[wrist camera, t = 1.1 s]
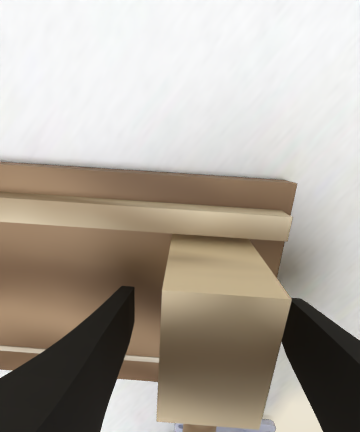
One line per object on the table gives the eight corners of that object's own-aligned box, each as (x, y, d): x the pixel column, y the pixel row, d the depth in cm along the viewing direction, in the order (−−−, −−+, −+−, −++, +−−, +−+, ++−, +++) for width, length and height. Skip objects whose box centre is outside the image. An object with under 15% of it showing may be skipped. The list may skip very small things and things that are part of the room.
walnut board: (246, 367, 16) (257, 409, 13) (-43, 345, 16) (-86, 382, 14) (283, 180, 12) (311, 187, 9) (-101, 155, 12) (-179, 155, 10)
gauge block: (225, 373, 14) (244, 487, 9) (165, 368, 14) (154, 479, 9) (247, 237, 11) (291, 299, 6) (172, 232, 11) (161, 290, 7)
